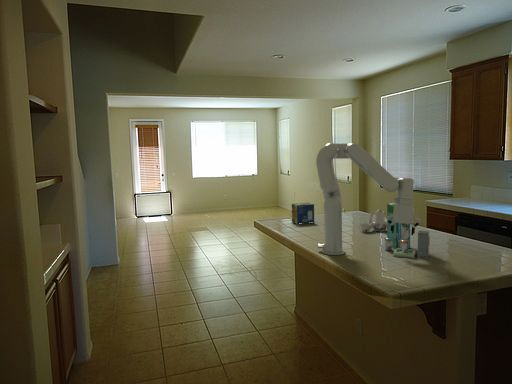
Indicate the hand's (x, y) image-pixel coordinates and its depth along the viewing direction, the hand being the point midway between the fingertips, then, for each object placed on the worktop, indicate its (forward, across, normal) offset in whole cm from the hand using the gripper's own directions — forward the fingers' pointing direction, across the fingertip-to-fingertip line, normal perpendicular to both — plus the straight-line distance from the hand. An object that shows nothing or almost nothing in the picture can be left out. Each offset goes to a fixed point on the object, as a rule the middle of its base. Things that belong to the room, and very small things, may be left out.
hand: (402, 233), depth 200 cm
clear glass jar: (+12, -7, +7) cm, 16 cm away
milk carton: (+12, -3, +18) cm, 22 cm away
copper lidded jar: (+10, +2, 0) cm, 11 cm away
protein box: (+15, -81, +75) cm, 112 cm away
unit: (+11, +11, +1) cm, 15 cm away
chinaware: (+12, -20, +59) cm, 63 cm away
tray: (+11, +2, 0) cm, 11 cm away
